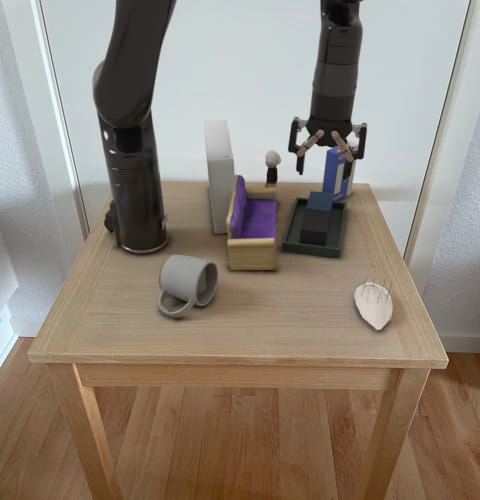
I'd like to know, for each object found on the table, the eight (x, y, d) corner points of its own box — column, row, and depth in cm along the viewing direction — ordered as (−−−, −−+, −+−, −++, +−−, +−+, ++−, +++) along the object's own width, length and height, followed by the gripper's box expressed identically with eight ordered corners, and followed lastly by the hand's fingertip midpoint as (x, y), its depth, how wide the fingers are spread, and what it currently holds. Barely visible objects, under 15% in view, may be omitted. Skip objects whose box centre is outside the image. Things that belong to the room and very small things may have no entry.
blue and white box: (330, 204, 111) (337, 152, 103) (320, 200, 112) (326, 148, 104) (351, 193, 115) (360, 142, 107) (342, 189, 116) (349, 139, 108)
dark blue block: (328, 228, 102) (330, 211, 99) (304, 225, 103) (305, 208, 100) (331, 209, 108) (333, 193, 105) (308, 207, 109) (310, 190, 106)
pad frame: (338, 258, 94) (340, 249, 93) (281, 251, 96) (281, 242, 95) (345, 210, 109) (346, 202, 107) (295, 205, 110) (296, 196, 109)
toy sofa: (275, 272, 90) (275, 223, 84) (228, 272, 91) (225, 223, 84) (277, 215, 106) (277, 170, 99) (237, 215, 107) (235, 171, 100)
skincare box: (207, 188, 117) (203, 119, 106) (230, 186, 117) (228, 118, 107) (211, 234, 101) (207, 159, 90) (238, 233, 101) (237, 158, 91)
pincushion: (396, 333, 79) (404, 305, 75) (358, 331, 79) (364, 304, 75) (383, 287, 88) (390, 260, 84) (349, 286, 88) (354, 260, 84)
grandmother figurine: (261, 198, 113) (263, 144, 104) (278, 198, 113) (281, 144, 104) (261, 215, 107) (262, 159, 99) (278, 215, 107) (282, 159, 99)
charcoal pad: (324, 250, 96) (326, 232, 93) (298, 247, 97) (300, 229, 94) (328, 229, 102) (330, 212, 99) (304, 226, 102) (305, 209, 100)
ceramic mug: (180, 277, 90) (176, 242, 85) (220, 289, 87) (218, 253, 82) (147, 312, 83) (141, 276, 77) (190, 326, 80) (186, 289, 75)
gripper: (376, 85, 88) (360, 171, 98) (296, 78, 90) (289, 164, 100) (375, 98, 82) (358, 188, 93) (290, 91, 84) (283, 180, 95)
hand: (322, 175), depth 96 cm, fingers open, 8 cm apart
